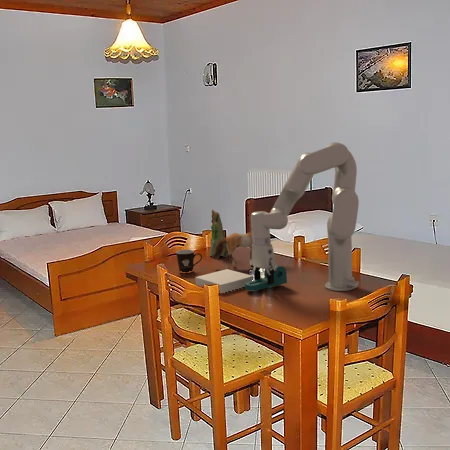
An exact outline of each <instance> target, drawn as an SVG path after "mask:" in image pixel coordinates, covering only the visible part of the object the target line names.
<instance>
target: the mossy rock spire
mask: <svg viewBox="0 0 450 450" xmlns="http://www.w3.org/2000/svg"><path fill="white" fill-rule="evenodd" d="M220 216H221V214H220V213H219V212H217V211H215V210H214V209H211V226H210V229H211V234H210V235H211V236H210V237H211V238H210V251H209V257H210V256H214V254H215V251H216V247H217V245H218V243H219V242H220V241H221V240H222V239H224V238H226V237H225V232H224V229H223V228H224V227H223V223H222V220H221V217H220ZM223 247H224V248H223V251H222V254H221V255H220V256H223V257H224V258H226V256H227V254H228V252H229V249H228V246H227V244H226V242H225V243H224V244H223ZM220 256H219V257H220Z"/></svg>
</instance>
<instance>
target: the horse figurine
mask: <svg viewBox="0 0 450 450" xmlns="http://www.w3.org/2000/svg"><path fill="white" fill-rule="evenodd" d="M225 242H226V245H227V249H228V254H227V256H226V257H225V264H224V266H225V270H226V269H229V270H231V269H230V267H229V266H228V263H229V258H230V259H231V262H232V266H233V267H236V261H235V259H234V257H233V253H234V252H235V250H236V249H237V248H239V247H241V248H250V251H249V261H250V260H251V259H252V244H253V242H252V229H251V230H250V231H248V232H247V233H238V232H233V233H231V234H229V235H228V236H227V237H225V238H224V239H222V240H221V241H220V242H219V243H218V245H217V247H216V251H215V254H214V256H212V257H210V259H213V260H216V261H217V260H219V259H220V255H221V254H222V251H223V248H224V247H223V244H224V243H225Z"/></svg>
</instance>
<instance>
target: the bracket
mask: <svg viewBox="0 0 450 450" xmlns="http://www.w3.org/2000/svg"><path fill="white" fill-rule="evenodd" d="M276 265H277V266H278V268H277V269H276V272H275V274H274V283H273V284H268V281H267V275H268V273H267V271H266V269H263V270H264V271H263V274H264V277H261V279H257V280H254V279H253V281H249V282H246V283H245V290H246V291H249V292H253V291H254V292H255V291H260V290H263V289H269V288H271V287H275V286H280V285H284V284H287V283H288V280H287V279H288V277H287V275H288V274H287V270H286V268H285V267H284V266H281V265H278V264H276ZM269 270H270V269H269ZM270 271H271V270H270Z"/></svg>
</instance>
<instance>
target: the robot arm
mask: <svg viewBox="0 0 450 450" xmlns="http://www.w3.org/2000/svg"><path fill="white" fill-rule="evenodd" d="M357 168H358V167H357V163H356V160H355V158H354V156H353V154H352V152H351V151H350V150H349V148H348V147H347V146H346V145H345V144H343V143H341V142H332V143H329V144H328V145H327V146H326V147H324V148H321V149H318V150H316V151H313V152H305V153H302V154H301V155H300V156H299V158H298V159H297V161H296V163H295V164H294V166H293V169H292V170H291V173H290V174H289V176H288V178H287V180H286V182H285V184H284V186H283V188H282V190H281V192H280V193H279V195H278V198H276V200H275V203H274V205H273V206H272V208H271V210H270V212H267V211H260V210H259V211H258V210H257V211H254V212H252V213H251V214H250V227H251V230H252V242H253V244H252V259H251V260H250V259H249V261H248V263H249V264H250V267H251V269H252V272H253V280H257V279H262V275H261V270H260V269H263V270H265V269H266V271H267V273H268V275H267V281H268V284H273V283H274V274H275V272H276V269H277V268H278V266H277V265H278V264H277V263H276V258H275V257H276V256H275V251H274V247H273V244H271V243H272V240H271V231H270V230H282V229H284V228H286V227H287V226H288V222H289V218H288V217H289V215H290V213H291V212H292V209H293V208H294V205H295V204H296V203H297V202H298V200H300V198H302V197H303V195H305V192H306V190H307V189H308V186H309V184H310V183H311V180H312V179H313V177H314V175H317V174H320V173H323V172H326V171H328V170H331V169H334V181H333V189H332V190H333V191H332V194H331V201H332V204H333V207H332V208H333V210H332V214H330V215H329V217H328V220H327V223H326V226H327V227H326V229H327V230H326V231H327V245H328V246H327V248H328V249H327V251H328V258H327V259H328V281H327V282H326V283H325V285H324V287H325V288H326V289H328V290H329V291H334V292H335V291H336V292H347V291H351V290H352V291H353V290H354V289H356V288H358V285H359V284H360V282H359V281H358V280H357V281H356V280H355V276H353V260H352V259H353V251H352V250H353V245H352V236H353V235H354V233H355V231H356V227H357V218H358V212H359V203H360V201H359V196H358V194H357V193H356V186H357V185H356V183H357V172H358V171H357ZM269 269H270V270H271V271H270V270H269Z"/></svg>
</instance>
